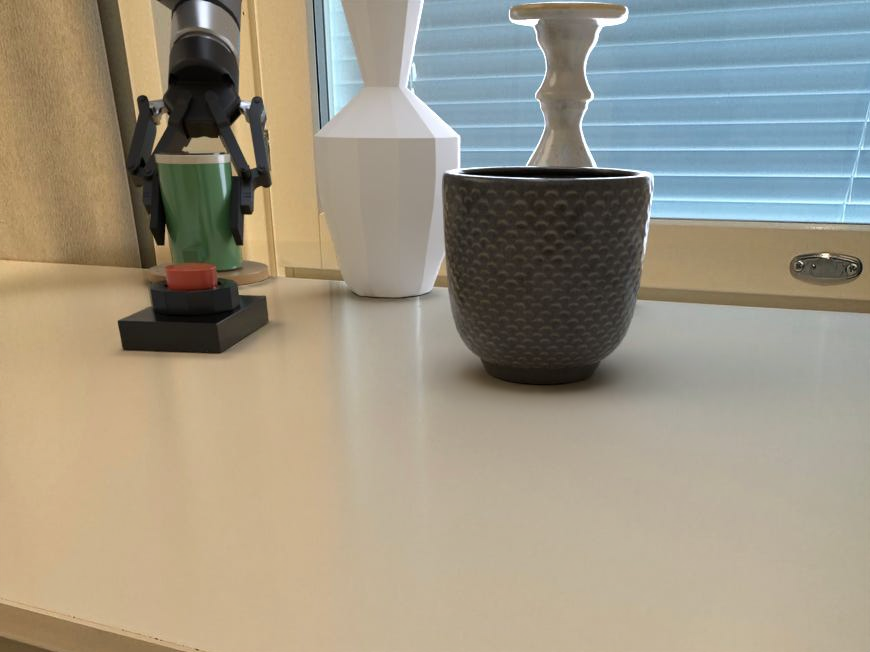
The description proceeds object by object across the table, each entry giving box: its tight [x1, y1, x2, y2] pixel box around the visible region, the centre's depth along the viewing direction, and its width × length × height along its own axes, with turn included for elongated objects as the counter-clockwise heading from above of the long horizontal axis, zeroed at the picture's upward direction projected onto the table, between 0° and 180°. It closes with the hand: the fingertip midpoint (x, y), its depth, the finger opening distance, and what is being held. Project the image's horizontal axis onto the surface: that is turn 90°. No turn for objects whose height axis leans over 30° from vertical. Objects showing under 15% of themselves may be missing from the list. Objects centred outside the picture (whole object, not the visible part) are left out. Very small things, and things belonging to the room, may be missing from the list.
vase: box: [313, 0, 461, 298], centre depth 86 cm, size 14×14×25 cm
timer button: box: [165, 263, 218, 289], centre depth 72 cm, size 4×4×2 cm
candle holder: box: [508, 1, 629, 168], centre depth 82 cm, size 11×11×24 cm
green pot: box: [154, 150, 244, 271], centre depth 94 cm, size 11×8×11 cm
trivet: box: [147, 259, 270, 286], centre depth 99 cm, size 13×13×1 cm
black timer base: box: [117, 278, 270, 354], centre depth 73 cm, size 8×12×4 cm, turn 173°
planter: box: [442, 165, 655, 385], centre depth 61 cm, size 14×14×13 cm
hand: (197, 236), depth 94 cm, fingers closed on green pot, 8 cm apart
